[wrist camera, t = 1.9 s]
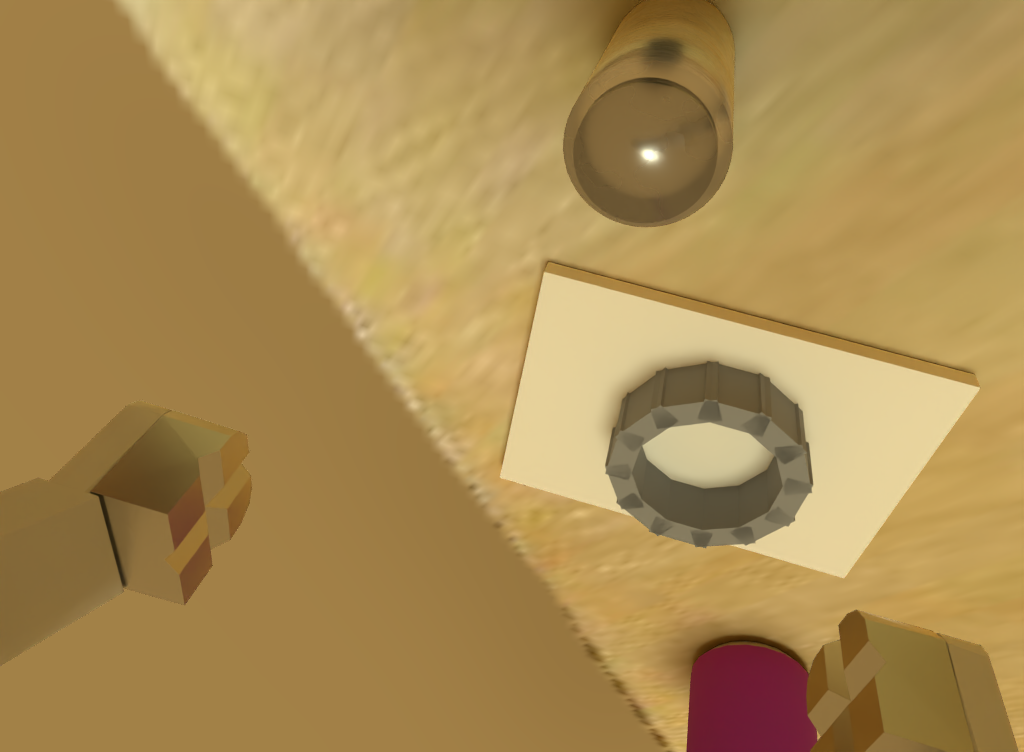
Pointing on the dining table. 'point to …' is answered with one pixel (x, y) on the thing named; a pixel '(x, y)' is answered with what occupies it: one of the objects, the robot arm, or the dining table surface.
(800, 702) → the beverage can
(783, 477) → the ring block
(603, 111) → the cylinder
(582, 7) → the dining table surface
